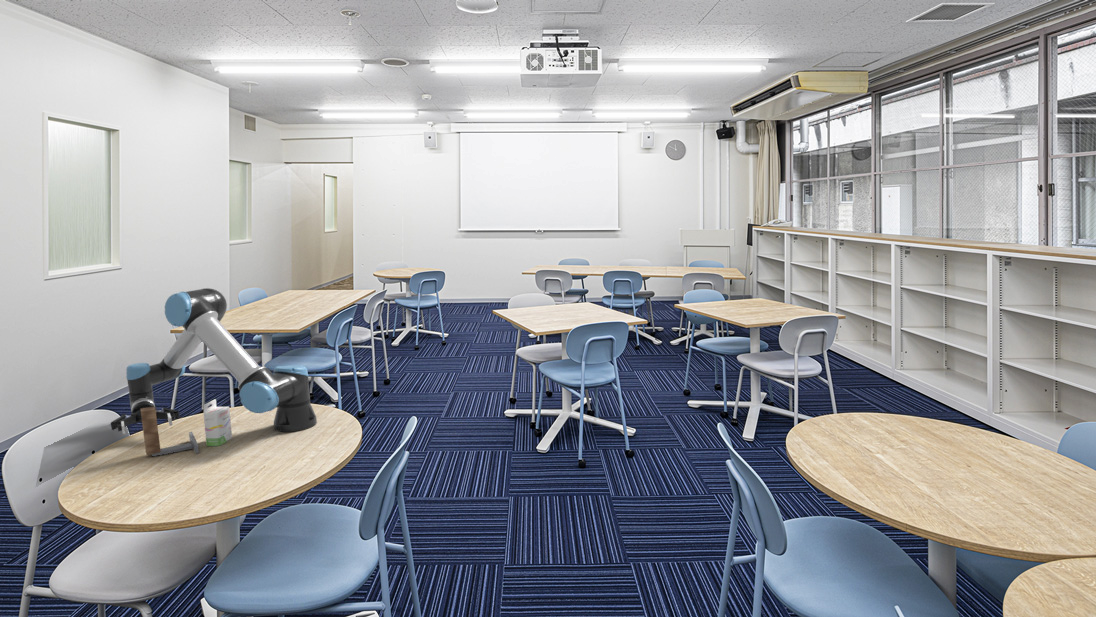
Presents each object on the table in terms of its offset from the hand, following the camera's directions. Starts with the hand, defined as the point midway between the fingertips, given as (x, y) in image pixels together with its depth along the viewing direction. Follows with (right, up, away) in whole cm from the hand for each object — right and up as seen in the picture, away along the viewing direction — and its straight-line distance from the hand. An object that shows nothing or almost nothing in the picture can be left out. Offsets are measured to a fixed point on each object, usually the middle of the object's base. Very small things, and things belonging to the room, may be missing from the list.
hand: (147, 425), depth 213 cm
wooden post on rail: (+8, -9, 0) cm, 12 cm away
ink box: (+20, -7, +9) cm, 23 cm away
